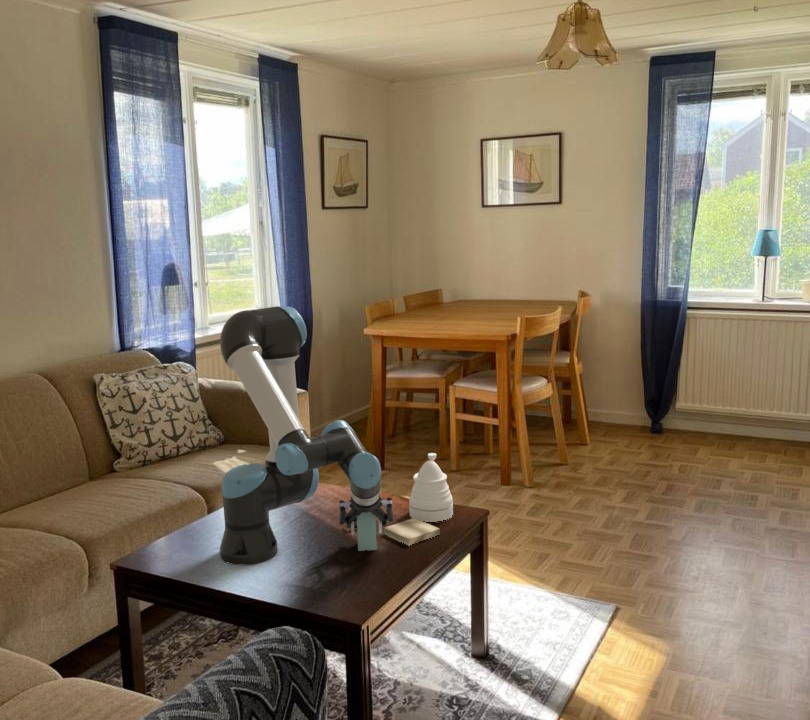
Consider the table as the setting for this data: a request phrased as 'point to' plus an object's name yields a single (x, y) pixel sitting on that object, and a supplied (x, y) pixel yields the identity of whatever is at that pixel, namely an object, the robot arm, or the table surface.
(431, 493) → the honey pot
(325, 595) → the table surface
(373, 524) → the pillar block
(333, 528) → the table surface
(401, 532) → the base slab
